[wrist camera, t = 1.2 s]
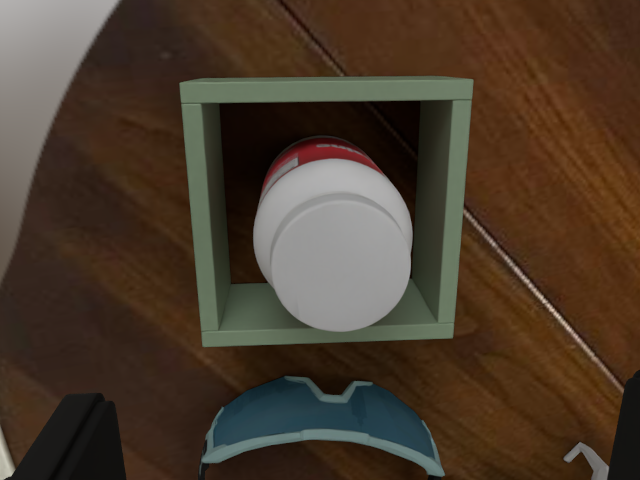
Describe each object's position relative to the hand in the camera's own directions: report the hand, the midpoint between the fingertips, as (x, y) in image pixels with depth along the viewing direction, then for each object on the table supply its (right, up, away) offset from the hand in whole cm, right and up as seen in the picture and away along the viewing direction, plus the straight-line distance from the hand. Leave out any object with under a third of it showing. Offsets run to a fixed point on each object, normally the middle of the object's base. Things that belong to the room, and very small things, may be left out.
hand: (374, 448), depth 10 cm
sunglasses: (-1, -11, +24) cm, 26 cm away
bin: (-1, +6, +18) cm, 19 cm away
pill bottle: (-1, +6, +18) cm, 20 cm away
